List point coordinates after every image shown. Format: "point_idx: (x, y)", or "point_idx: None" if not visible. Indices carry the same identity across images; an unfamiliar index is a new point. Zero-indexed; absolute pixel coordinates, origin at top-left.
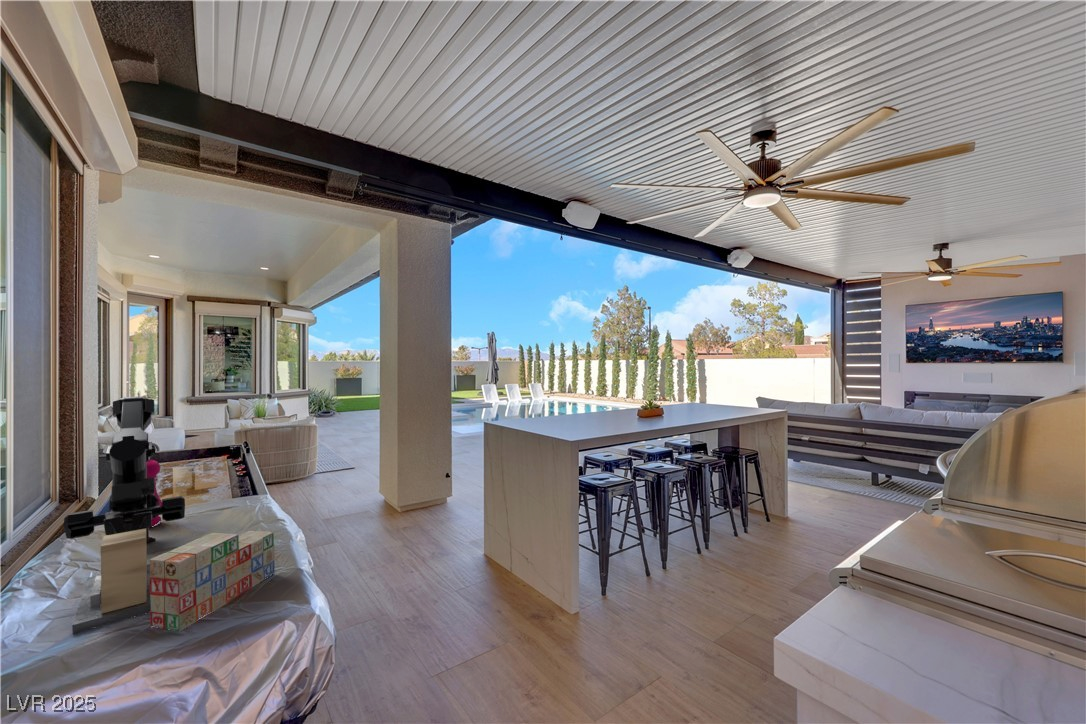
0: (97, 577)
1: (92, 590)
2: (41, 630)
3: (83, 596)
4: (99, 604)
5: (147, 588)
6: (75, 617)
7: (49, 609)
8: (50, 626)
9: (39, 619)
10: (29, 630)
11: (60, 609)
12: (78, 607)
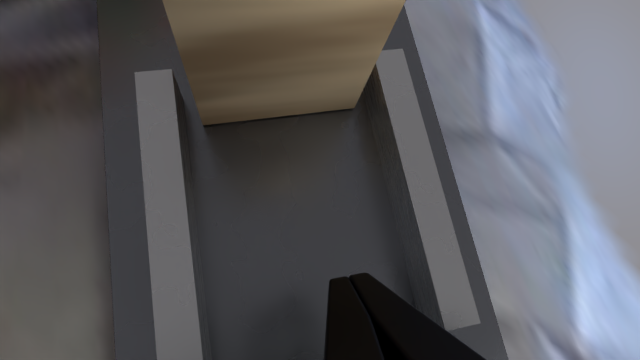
0: (463, 290)
1: (417, 110)
2: (485, 64)
3: (457, 208)
4: None
5: (203, 143)
6: (404, 13)
7: (548, 237)
8: (472, 78)
9: (536, 158)
10: (522, 85)
11: (507, 213)
12: (429, 96)
